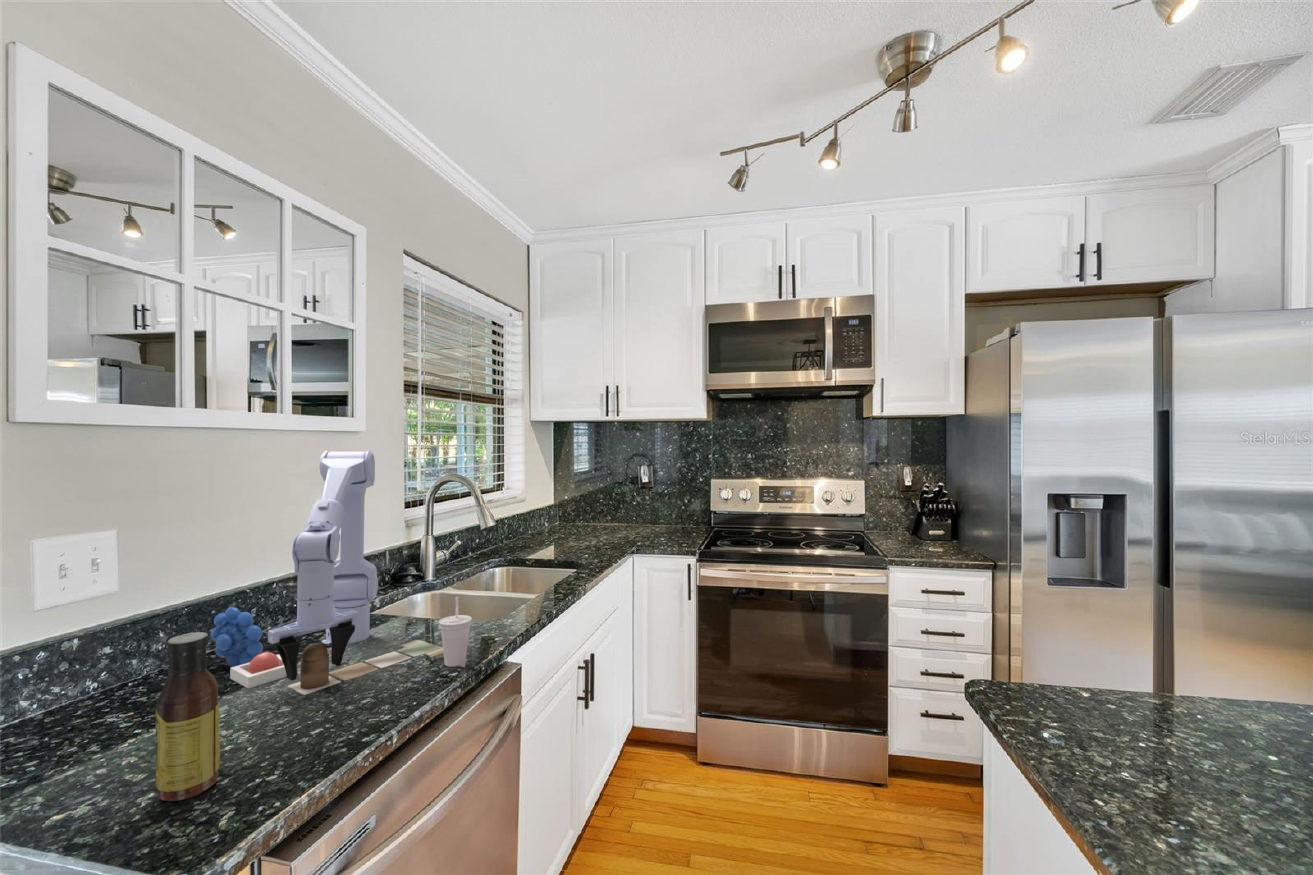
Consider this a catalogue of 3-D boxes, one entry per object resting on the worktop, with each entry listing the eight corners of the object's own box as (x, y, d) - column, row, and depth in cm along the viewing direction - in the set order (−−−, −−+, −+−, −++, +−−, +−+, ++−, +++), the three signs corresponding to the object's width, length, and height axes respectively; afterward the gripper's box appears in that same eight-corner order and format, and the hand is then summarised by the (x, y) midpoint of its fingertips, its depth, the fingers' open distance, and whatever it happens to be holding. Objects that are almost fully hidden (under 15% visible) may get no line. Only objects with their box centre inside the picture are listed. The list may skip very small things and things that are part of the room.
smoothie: (477, 662, 113) (477, 594, 113) (463, 675, 106) (463, 602, 107) (447, 661, 113) (448, 593, 114) (432, 673, 107) (432, 602, 107)
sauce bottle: (181, 776, 73) (184, 628, 74) (230, 774, 74) (233, 626, 74) (139, 808, 67) (143, 645, 67) (194, 805, 67) (196, 643, 68)
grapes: (190, 673, 107) (191, 612, 107) (224, 660, 114) (225, 602, 114) (240, 678, 105) (241, 615, 105) (271, 664, 112) (272, 605, 112)
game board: (278, 688, 100) (278, 683, 100) (417, 643, 124) (417, 638, 124) (309, 705, 94) (309, 699, 94) (450, 654, 117) (450, 649, 117)
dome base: (230, 683, 102) (230, 667, 102) (278, 669, 109) (278, 654, 109) (248, 694, 98) (248, 677, 98) (297, 678, 105) (297, 662, 105)
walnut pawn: (295, 685, 99) (296, 644, 99) (321, 676, 103) (321, 637, 103) (307, 691, 97) (307, 649, 97) (333, 682, 101) (333, 642, 101)
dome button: (243, 680, 103) (244, 654, 103) (272, 671, 107) (273, 646, 107) (254, 686, 100) (255, 659, 100) (283, 677, 104) (284, 651, 104)
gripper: (281, 609, 92) (280, 691, 92) (366, 591, 104) (365, 662, 104) (263, 603, 96) (261, 681, 96) (347, 586, 108) (346, 655, 108)
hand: (314, 671), depth 100 cm, fingers open, 7 cm apart
